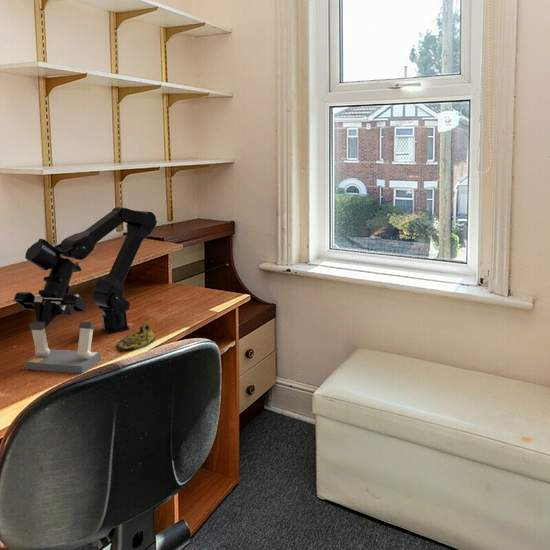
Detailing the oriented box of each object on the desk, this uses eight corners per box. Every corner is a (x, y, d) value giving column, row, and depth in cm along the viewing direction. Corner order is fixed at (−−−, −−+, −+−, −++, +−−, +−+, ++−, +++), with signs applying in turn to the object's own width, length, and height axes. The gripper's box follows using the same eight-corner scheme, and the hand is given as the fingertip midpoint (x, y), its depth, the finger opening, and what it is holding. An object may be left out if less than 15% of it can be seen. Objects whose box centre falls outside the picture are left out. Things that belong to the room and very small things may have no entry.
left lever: (39, 352, 147) (33, 321, 144) (50, 353, 147) (44, 321, 144) (35, 355, 146) (29, 323, 143) (46, 356, 145) (40, 324, 142)
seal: (139, 357, 152) (163, 337, 166) (139, 342, 150) (163, 323, 164) (108, 351, 154) (134, 332, 168) (108, 336, 153) (134, 317, 167)
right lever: (79, 357, 144) (83, 322, 146) (90, 358, 144) (94, 323, 145) (75, 357, 143) (79, 321, 144) (86, 358, 142) (91, 322, 143)
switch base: (47, 355, 151) (46, 348, 151) (101, 359, 148) (100, 352, 147) (26, 369, 143) (25, 361, 142) (82, 373, 139) (81, 365, 139)
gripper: (103, 293, 157) (86, 345, 150) (45, 291, 161) (26, 341, 154) (84, 273, 148) (65, 327, 140) (23, 272, 152) (1, 324, 145)
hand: (39, 331), depth 145 cm, fingers closed, pressing on left lever
